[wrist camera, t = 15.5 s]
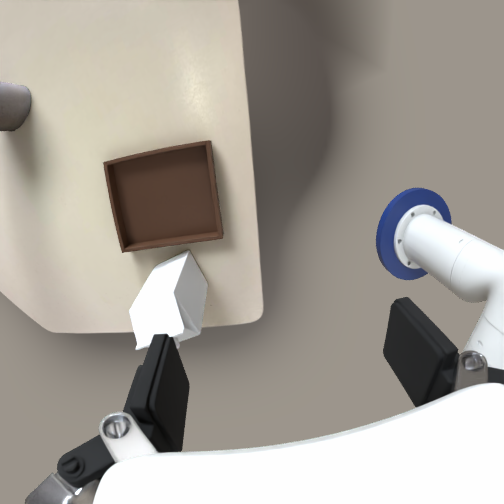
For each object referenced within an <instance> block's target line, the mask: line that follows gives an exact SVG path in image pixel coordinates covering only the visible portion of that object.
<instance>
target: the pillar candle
mask: <svg viewBox="0 0 504 504" xmlns="http://www.w3.org/2000/svg"><path fill="white" fill-rule="evenodd" d="M30 105H31V95H30V92H29V90H28V88H27V87H25V86H23V85H17V84H12V83H6V82H0V131H15V130H16V129H18V128H19V127H20V126H21V125H22V124H23V123H24V121H25V119H26V117H27V116H28V113H29V110H30Z"/></svg>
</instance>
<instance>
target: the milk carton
mask: <svg viewBox="0 0 504 504" xmlns="http://www.w3.org/2000/svg"><path fill="white" fill-rule="evenodd" d="M207 288H208V283H207V281H206V279H205V278H204V276H203V274H202V272H201V270H200V269H199V267H198V265H197V263H196V261H195V260H194V258H193V256H192V254H191V252H190V251H189V250H188V251H186V252H184V253H181V254H179V255H177V256H175V257H173V258H171V259H169V260H167V261H164V262H162V263H160V264H158V265H156V266H155V267H154V269H153V271H152V272H151V274H150V276H149V277H148V279H147V281H146V282H145V284H144V286H143V288H142V289H141V291H140V293H139V295H138V296H137V298H136V300H135V302H134V303H133V305H132V307H131V309H130V310H129V313H130V317H131V321H132V325H133V329H134V333H135V336H136V340H137V347H136V350H139V349H141V348H144V347H149V346H150V343H151V340H152V338H153V335H154V334H164V333H167V334H168V335H169V337H171V336H172V337H173V338H174V341H175V344H176V347H177V349H178V348H179V347H180V345H179V342H180V341H183V340H186V339H189V338H191V337H194V336H197V335H199V334H200V333H201V328H202V321H203V314H204V307H205V301H206V294H207Z"/></svg>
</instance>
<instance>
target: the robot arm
mask: <svg viewBox="0 0 504 504" xmlns="http://www.w3.org/2000/svg"><path fill="white" fill-rule="evenodd" d="M394 250H395V254H396V256H397V258H398V259H399V261H400V262H401V263H402V264H403V265H405V266H406V267H409V268H412V269H417V268H422V269H424V270H425V271H426V272H427V273H429V274H430V275H431V276H433V277H434V278H435V279H437V280H438V281H439V282H441V283H442V284H443V285H444V286H445V287H447V288H448V289H449V290H451V291H452V292H453V293H454V294H455V295H457V296H458V297H459V298H461V299H462V300H464V301H467V302H471V303H472V302H473V303H474V302H482V301H486V300H487V302H486V305H485V307H484V310H483V313H482V315H481V317H480V319H479V321H478V323H477V325H476V327H475V328H474V330H473V333H472V334H471V336H470V338H469V340H468V342H467V344H466V346H465V348H464V350H463V353H461V354H460V355H459V353H458V349H457V347H456V346H455V345H454V344H453V343H452V342H451V341H450V340H449V339H448V338H447V337H446V336H445V334H444V333H443V332H442V331H441V330H440V329H439V328H438V327H437V326H436V325H435V324H434V323H433V322H432V321H431V320H430V319H429V318H428V317H427V316H426V315H425V314H424V313H423V312H422V311H421V310H420V309H419V308H418V307H417V306H416V305H415V304H414V303H413V302H412V301H411V300H410V299H409V298H408V297H404V298H400V299H396V300H395V301H394V303H393V304H392V305H391V310H390V316H389V322H388V328H387V334H386V339H385V344H384V349H383V354H384V357H385V359H386V360H387V362H388V363H389V365H390V366H391V368H392V370H393V371H394V373H395V374H396V376H397V377H398V379H399V381H400V382H401V384H402V386H403V387H404V389H405V390H406V392H407V394H408V395H409V397H410V399H411V400H412V402H413V404H414V405H415V407H417V408H414V409H412V410H409V411H407V412H404V413H401V414H399V415H396V416H393V417H390V418H387V419H384V420H381V421H378V422H375V423H372V424H368V425H365V426H362V427H358V428H354V429H351V430H347V431H343V432H339V433H335V434H331V435H327V436H322V437H318V438H313V439H308V440H302V441H297V442H291V443H285V444H279V445H272V446H264V447H255V448H247V449H246V448H245V449H233V450H220V451H198V452H181V451H182V446H183V437H184V428H185V418H186V411H187V403H188V395H189V381H188V378H187V375H186V373H185V370H184V367H183V364H182V361H181V359H180V356H179V353H178V350H177V347H176V344H175V341H174V338H173V337H172V336H171V337H169V335H168V334H167V333H164V334H154V335H153V338H152V340H151V343H150V346H149V349H148V352H147V355H146V358H145V360H144V363H143V365H140V366H139V367H138V369H137V371H136V374H135V377H134V380H133V383H132V385H131V389H130V391H129V394H128V398H127V401H126V404H125V407H124V410H123V412H114V413H111V414H109V415H107V416H106V417H104V419H103V420H102V421H101V423H100V425H99V433H100V435H98V436H96V437H94V438H93V439H91V440H89V441H87V442H86V443H84V444H82V445H81V446H79V447H77V448H75V449H73V450H71V451H70V452H68V453H66V454H64V455H63V456H62V457H61V458H60V460H59V462H58V464H57V470H58V472H57V473H56V474H53V473H51V474H50V475H49V476H48V477H47V478H46V479H45V480H44V481H43V482H42V483H41V484H40V485H39V486H38V487H37V488H36V489H35V490H34V491H33V492H32V493H31V494H30V495H29V496H28V497H27V498H26V500H25V504H504V250H502V249H500V248H498V247H496V246H494V245H491V244H490V243H488V242H486V241H484V240H482V239H480V238H478V237H476V236H474V235H472V234H470V233H468V232H466V231H464V230H462V229H460V228H458V227H456V226H454V225H451V224H449V223H447V222H445V221H443V218H442V216H441V214H440V213H439V212H438V211H437V210H436V209H435V208H433V207H431V206H429V205H418V206H415V207H413V208H411V209H410V210H408V211H407V212H406V213H405V214H404V215H403V217H402V218H401V220H400V221H399V223H398V225H397V228H396V231H395V235H394Z"/></svg>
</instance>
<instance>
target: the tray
mask: <svg viewBox="0 0 504 504" xmlns="http://www.w3.org/2000/svg"><path fill="white" fill-rule="evenodd" d="M104 170H105V176H106V182H107V187H108V193H109V198H110V203H111V208H112V212H113V217H114V222H115V226H116V230H117V234H118V239H119V243H120V247H121V250H122V253H124V252H130V251H137V250H144V249H151V248H158V247H165V246H172V245H180V244H187V243H194V242H202V241H209V240H217V239H223V234H224V233H223V226H222V219H221V212H220V205H219V198H218V191H217V183H216V176H215V168H214V161H213V153H212V145H211V141H209V140H208V141H202V142H196V143H190V144H184V145H178V146H173V147H168V148H163V149H158V150H153V151H148V152H144V153H139V154H135V155H131V156H126V157H122V158H118V159H114V160H111V161H107V162H104Z"/></svg>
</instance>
